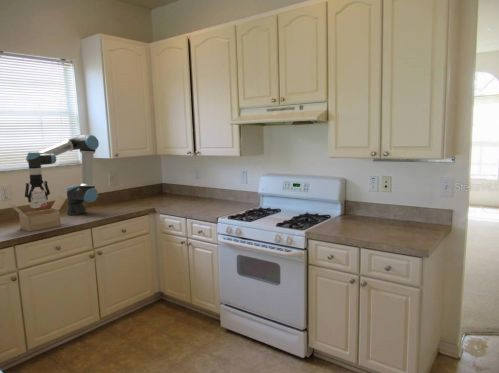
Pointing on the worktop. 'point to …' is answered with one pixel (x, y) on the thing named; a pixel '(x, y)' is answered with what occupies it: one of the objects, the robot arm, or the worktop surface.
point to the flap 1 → (17, 209)
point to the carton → (40, 220)
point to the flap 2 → (58, 203)
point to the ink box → (38, 198)
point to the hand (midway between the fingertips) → (38, 205)
